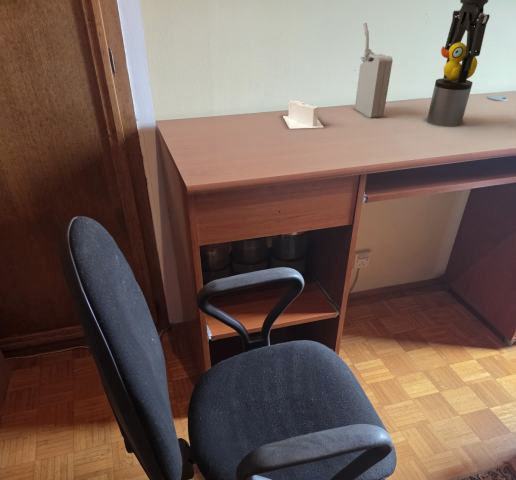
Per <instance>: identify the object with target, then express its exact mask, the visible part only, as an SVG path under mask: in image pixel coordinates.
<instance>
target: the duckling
mask: <svg viewBox="0 0 516 480" xmlns="http://www.w3.org/2000/svg"><path fill="white" fill-rule="evenodd" d="M440 53H441V56H442V57H443V58H445V59H447V58H449V59H450V61H449V62H448V63H447V64H446V63H445V65H444V66H443V75H444V74H445V76H446V77H447V79H448V80H450V81H457V80H458V76H459V72H460V68H461V64H462V60H463V58H464V57H463V56H466V43H463V42H461V43H455V44H453V45H452V46H451V47H450V49H449V50H446V49H445V45H444V46H443V45H442V47H441V49H440ZM477 67H478V58H477V56H476V57H474V58H473V61H472V64H471V68H470V70H469V73H468V76H467V80H469V79H470V78H471V77H473V76H474V74H475V72H476V70H477Z"/></svg>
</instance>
